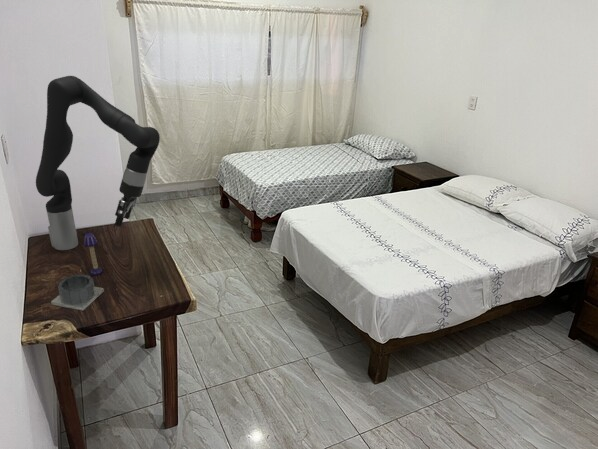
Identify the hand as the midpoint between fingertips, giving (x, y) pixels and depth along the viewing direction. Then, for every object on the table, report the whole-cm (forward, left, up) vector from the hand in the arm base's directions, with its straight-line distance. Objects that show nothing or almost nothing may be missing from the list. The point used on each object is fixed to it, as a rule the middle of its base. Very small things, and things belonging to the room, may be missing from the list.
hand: (122, 221), depth 156 cm
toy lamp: (-13, -1, -24) cm, 27 cm away
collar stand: (-9, -17, -23) cm, 31 cm away
